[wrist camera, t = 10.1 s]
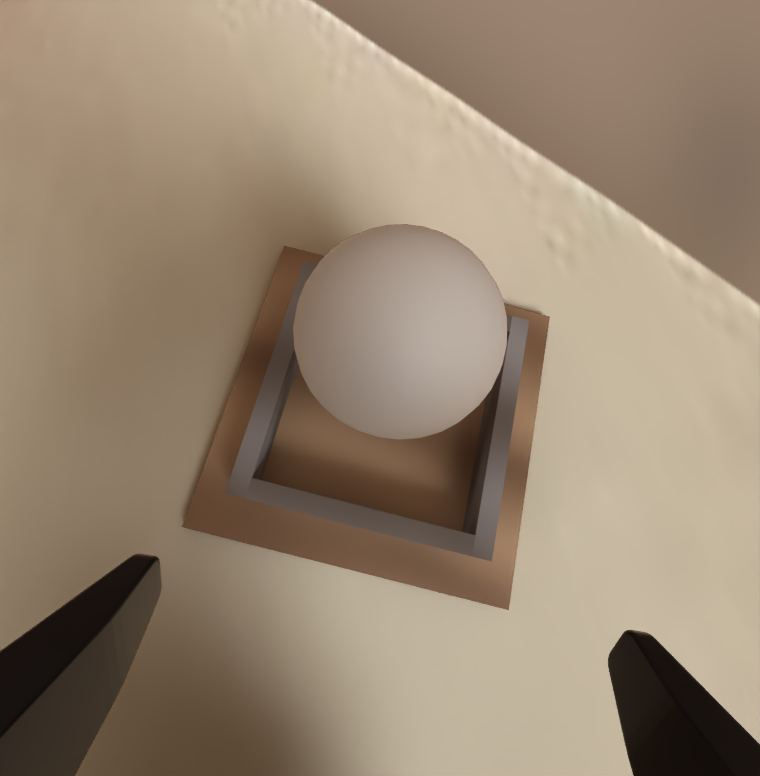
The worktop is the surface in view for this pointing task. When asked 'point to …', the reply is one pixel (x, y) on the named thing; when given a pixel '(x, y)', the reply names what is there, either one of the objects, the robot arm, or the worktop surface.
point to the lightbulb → (400, 331)
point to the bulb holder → (372, 467)
